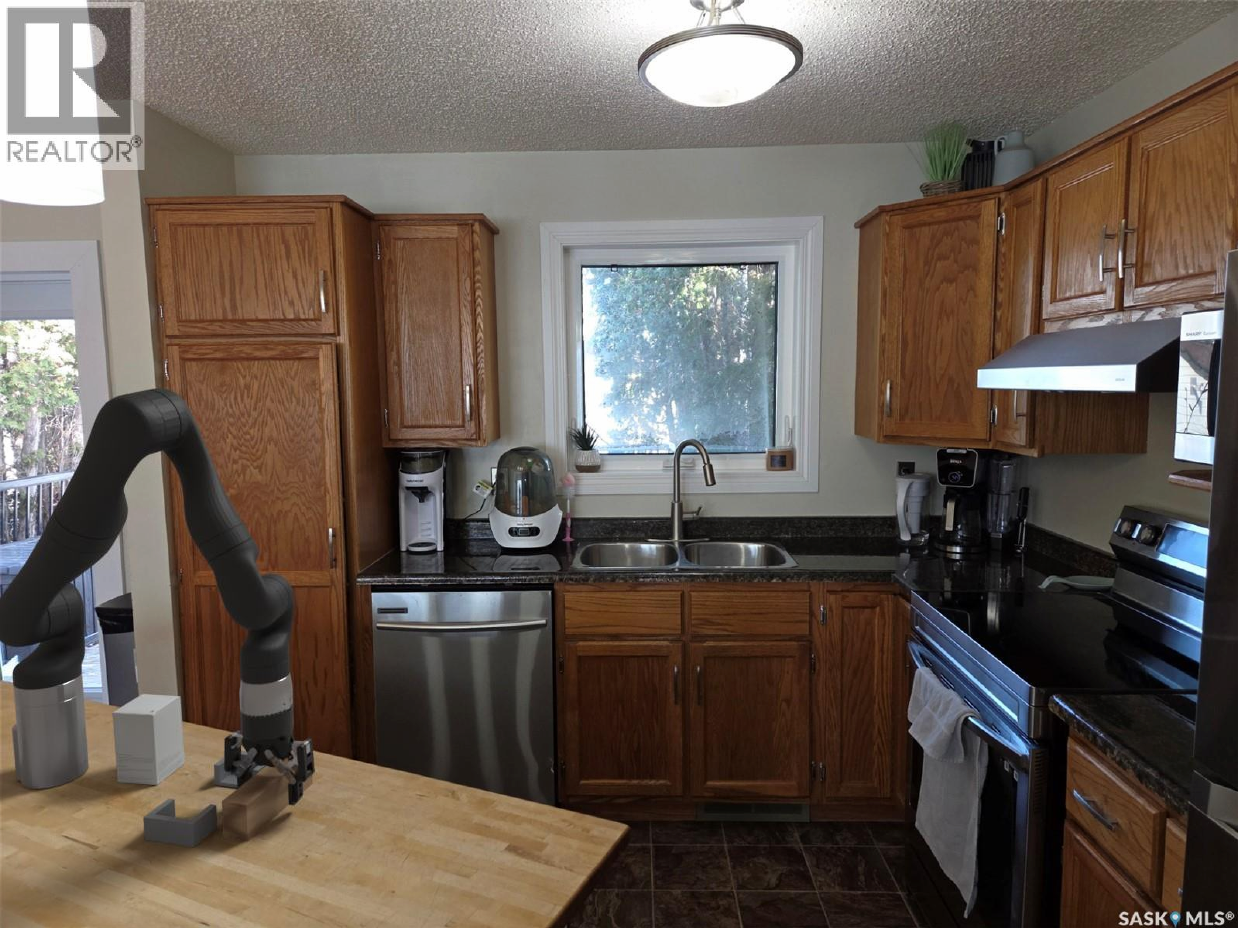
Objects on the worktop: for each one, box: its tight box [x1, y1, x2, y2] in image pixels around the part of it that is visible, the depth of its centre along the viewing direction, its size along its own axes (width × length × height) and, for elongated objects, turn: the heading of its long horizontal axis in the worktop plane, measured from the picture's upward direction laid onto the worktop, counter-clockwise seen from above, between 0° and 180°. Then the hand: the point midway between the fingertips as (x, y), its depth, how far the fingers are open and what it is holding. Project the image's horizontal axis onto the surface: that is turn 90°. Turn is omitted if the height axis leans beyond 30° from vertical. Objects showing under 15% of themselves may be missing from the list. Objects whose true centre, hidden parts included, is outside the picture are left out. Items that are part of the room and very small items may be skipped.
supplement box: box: [111, 693, 185, 786], centre depth 129 cm, size 7×7×13 cm
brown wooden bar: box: [221, 750, 314, 842], centre depth 120 cm, size 4×16×6 cm, turn 168°
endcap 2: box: [213, 750, 266, 789], centre depth 128 cm, size 8×5×4 cm, turn 80°
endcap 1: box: [143, 798, 218, 848], centre depth 113 cm, size 8×5×4 cm, turn 80°
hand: (270, 799), depth 120 cm, fingers open, 8 cm apart
